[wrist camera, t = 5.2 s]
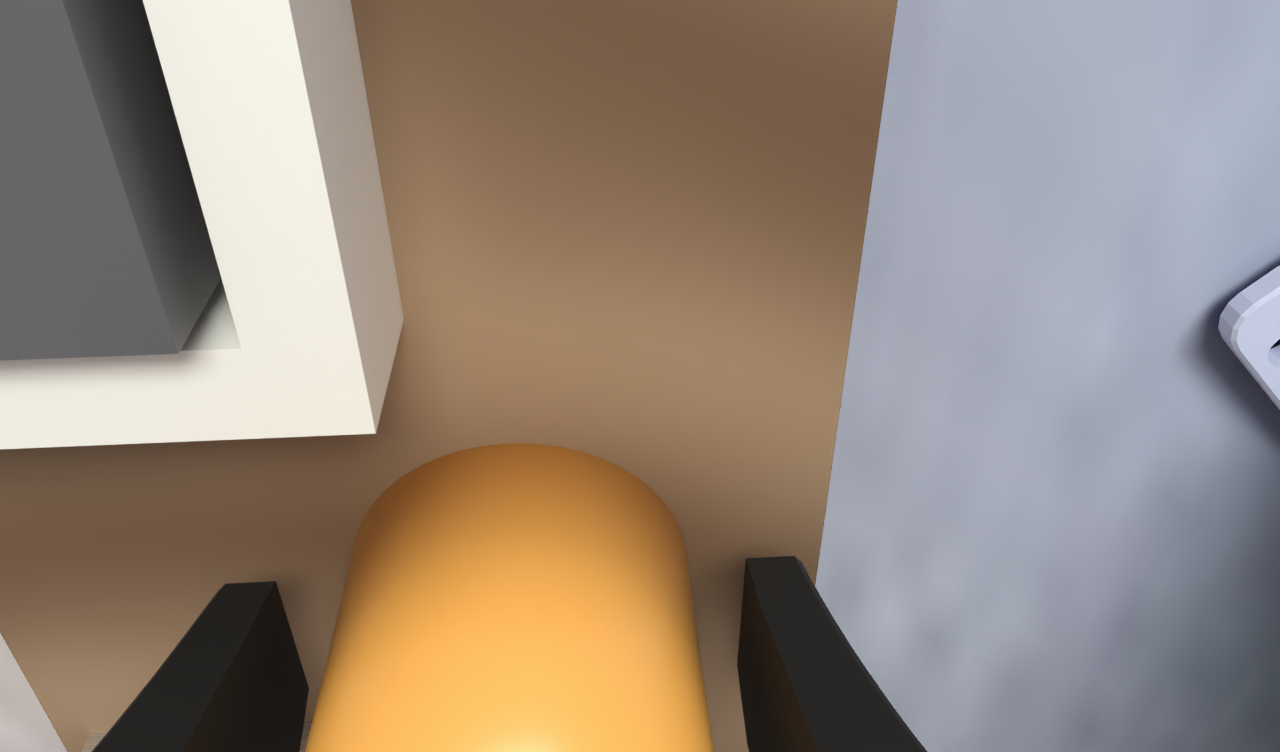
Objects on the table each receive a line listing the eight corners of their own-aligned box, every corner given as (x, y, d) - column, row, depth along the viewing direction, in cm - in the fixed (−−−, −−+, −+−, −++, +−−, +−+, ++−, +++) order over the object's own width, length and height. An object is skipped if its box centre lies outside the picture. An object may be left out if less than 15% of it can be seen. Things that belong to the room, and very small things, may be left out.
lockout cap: (754, 559, 13) (835, 946, 9) (536, 715, 15) (527, 1101, 11) (502, 381, 11) (469, 773, 7) (284, 583, 13) (160, 992, 9)
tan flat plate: (750, 887, 21) (761, 961, 20) (227, 921, 21) (206, 999, 20) (922, -592, 8) (987, -637, 7) (-514, -601, 8) (-726, -656, 6)
